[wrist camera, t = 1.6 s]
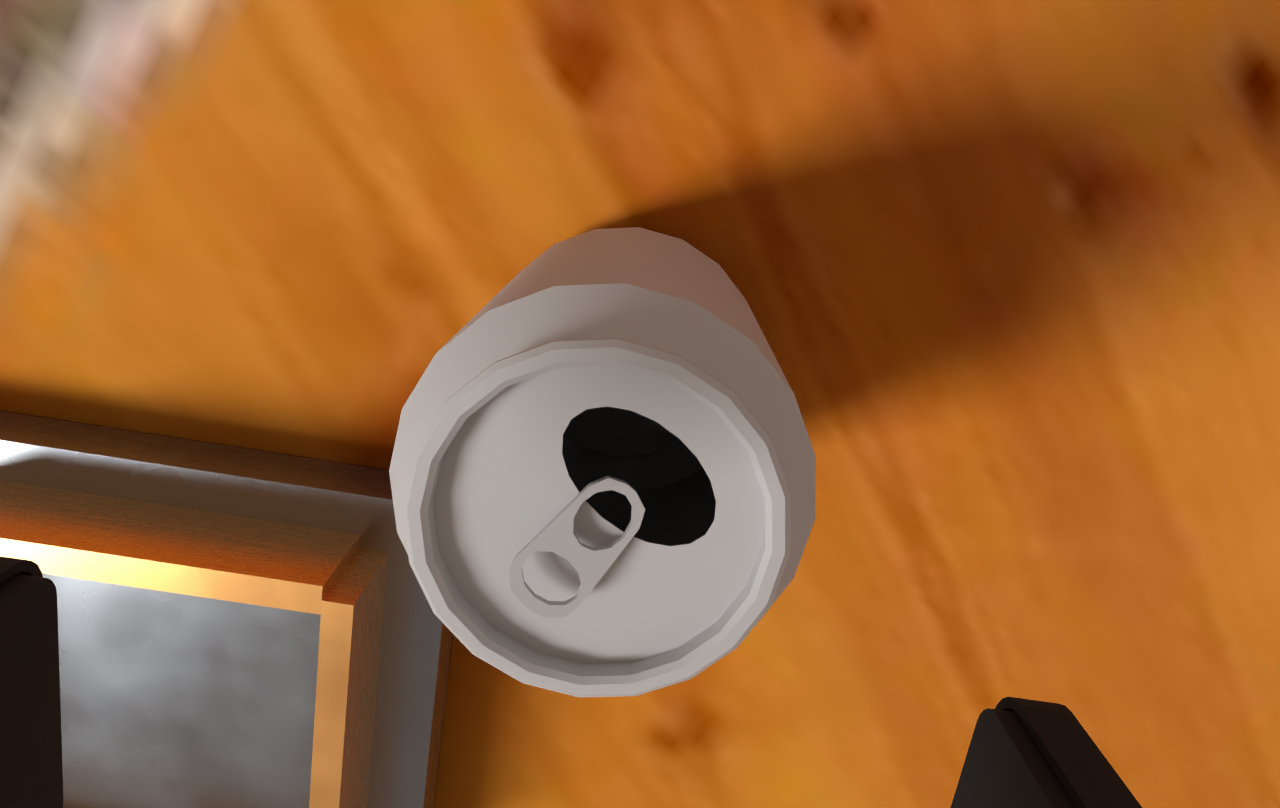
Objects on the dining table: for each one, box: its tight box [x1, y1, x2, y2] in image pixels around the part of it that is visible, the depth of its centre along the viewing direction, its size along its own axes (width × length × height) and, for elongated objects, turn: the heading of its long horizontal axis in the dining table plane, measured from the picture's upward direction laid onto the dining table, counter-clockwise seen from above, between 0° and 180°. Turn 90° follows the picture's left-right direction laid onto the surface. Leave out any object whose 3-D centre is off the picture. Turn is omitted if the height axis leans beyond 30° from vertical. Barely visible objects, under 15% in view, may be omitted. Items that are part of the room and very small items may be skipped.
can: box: [389, 227, 816, 697], centre depth 20 cm, size 8×8×12 cm
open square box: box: [0, 411, 453, 808], centre depth 26 cm, size 16×15×5 cm
